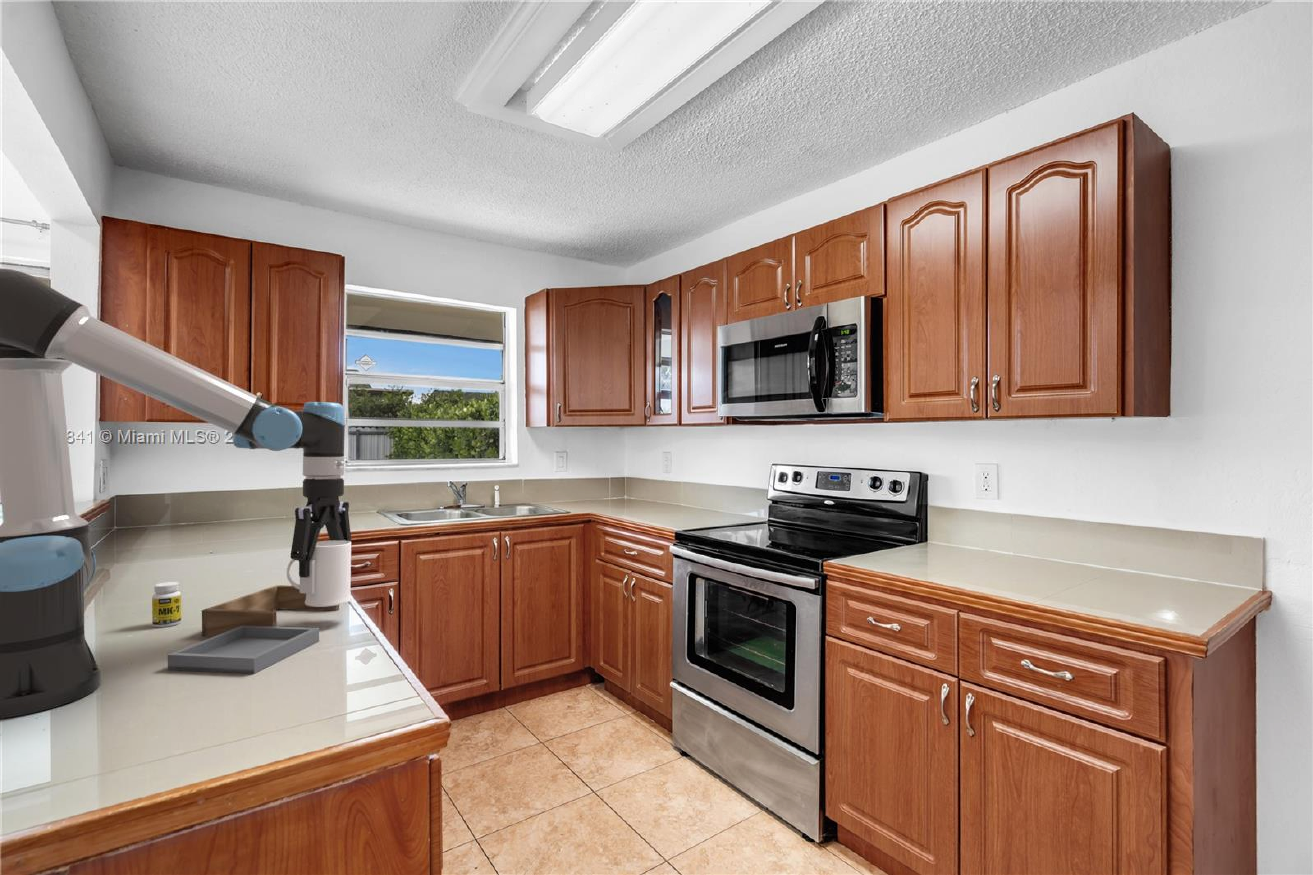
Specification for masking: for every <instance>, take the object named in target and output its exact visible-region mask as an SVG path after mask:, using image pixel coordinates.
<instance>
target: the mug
mask: <svg viewBox="0 0 1313 875" xmlns="http://www.w3.org/2000/svg"><path fill="white" fill-rule="evenodd" d="M351 542H352V541H351ZM351 542H350V541H346V540H345V541H337V540H333V541H330V540H323V541H317V543H316V547H315V550H314V553H313V557H312V560H315V593H313V594H308V593H306V600H305V604H306V605H308V606H313V607H326V606H335V605H339V606H340V605H344V604H348V603H349V602H351V601H352V593H351V578H352V571H351V570H352V545H351ZM306 554H307V553H306ZM294 562H296V560H294V559H290V561H289V562H288V564H287V567H286V578H287V581H288V582H289V584H290V586H294V587H295V588H297V589H299V590H300V583H299V584H298V583H296V582H295V581H294V580H293V579H292V577H291V576H290V575H291V573H290V569H291V567H292V565H293V563H294Z"/></svg>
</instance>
